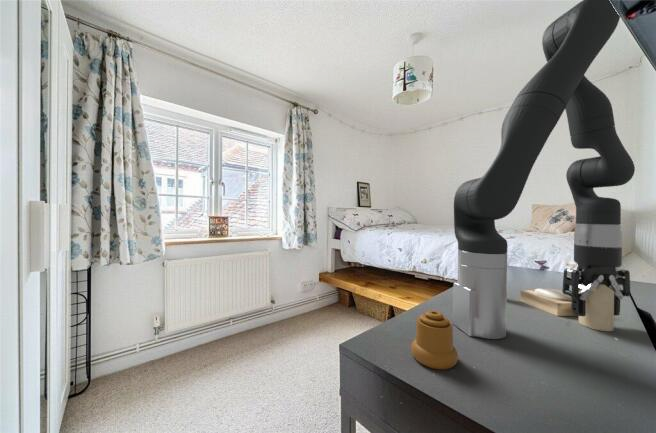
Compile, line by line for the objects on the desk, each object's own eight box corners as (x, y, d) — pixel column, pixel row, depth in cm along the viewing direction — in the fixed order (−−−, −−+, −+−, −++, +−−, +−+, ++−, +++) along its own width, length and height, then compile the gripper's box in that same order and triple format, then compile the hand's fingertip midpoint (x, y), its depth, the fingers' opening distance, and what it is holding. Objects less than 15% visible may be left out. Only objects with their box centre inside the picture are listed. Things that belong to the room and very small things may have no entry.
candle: (621, 332, 55) (621, 286, 55) (590, 330, 56) (591, 285, 56) (599, 322, 60) (600, 280, 60) (572, 320, 61) (572, 279, 61)
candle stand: (557, 316, 64) (557, 300, 64) (520, 301, 75) (520, 287, 75) (596, 315, 65) (596, 299, 65) (554, 300, 76) (554, 287, 76)
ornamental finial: (402, 357, 44) (424, 343, 49) (446, 378, 39) (465, 360, 44) (403, 311, 44) (424, 302, 49) (446, 326, 39) (465, 313, 44)
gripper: (586, 246, 53) (585, 322, 54) (646, 246, 55) (645, 320, 55) (552, 242, 61) (551, 309, 61) (605, 242, 62) (604, 308, 62)
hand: (595, 314), depth 58 cm, fingers open, 8 cm apart
